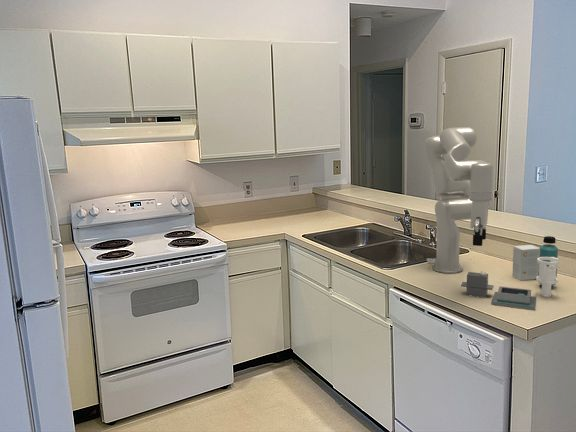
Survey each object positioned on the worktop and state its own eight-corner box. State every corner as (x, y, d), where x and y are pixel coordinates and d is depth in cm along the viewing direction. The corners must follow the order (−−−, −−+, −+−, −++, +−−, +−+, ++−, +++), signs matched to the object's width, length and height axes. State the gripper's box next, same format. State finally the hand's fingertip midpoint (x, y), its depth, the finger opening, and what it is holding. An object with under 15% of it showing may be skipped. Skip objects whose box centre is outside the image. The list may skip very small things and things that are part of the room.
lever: (460, 294, 186) (461, 271, 185) (462, 291, 190) (463, 268, 188) (491, 298, 181) (492, 275, 179) (493, 294, 185) (494, 271, 183)
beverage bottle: (558, 286, 190) (561, 236, 186) (553, 291, 185) (557, 239, 181) (540, 282, 194) (542, 233, 190) (535, 287, 190) (537, 237, 186)
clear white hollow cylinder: (550, 300, 176) (553, 260, 174) (531, 295, 182) (533, 256, 179) (560, 295, 181) (563, 256, 178) (541, 290, 186) (543, 252, 183)
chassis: (491, 304, 175) (491, 292, 174) (494, 294, 185) (495, 282, 184) (534, 310, 169) (535, 297, 168) (536, 299, 178) (537, 287, 177)
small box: (530, 274, 205) (531, 244, 202) (539, 279, 199) (541, 248, 196) (511, 275, 204) (513, 245, 202) (520, 280, 198) (521, 249, 195)
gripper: (473, 192, 187) (472, 236, 191) (466, 200, 172) (464, 247, 176) (494, 193, 184) (492, 237, 187) (489, 201, 169) (487, 249, 172)
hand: (479, 242), depth 181 cm, fingers open, 9 cm apart
